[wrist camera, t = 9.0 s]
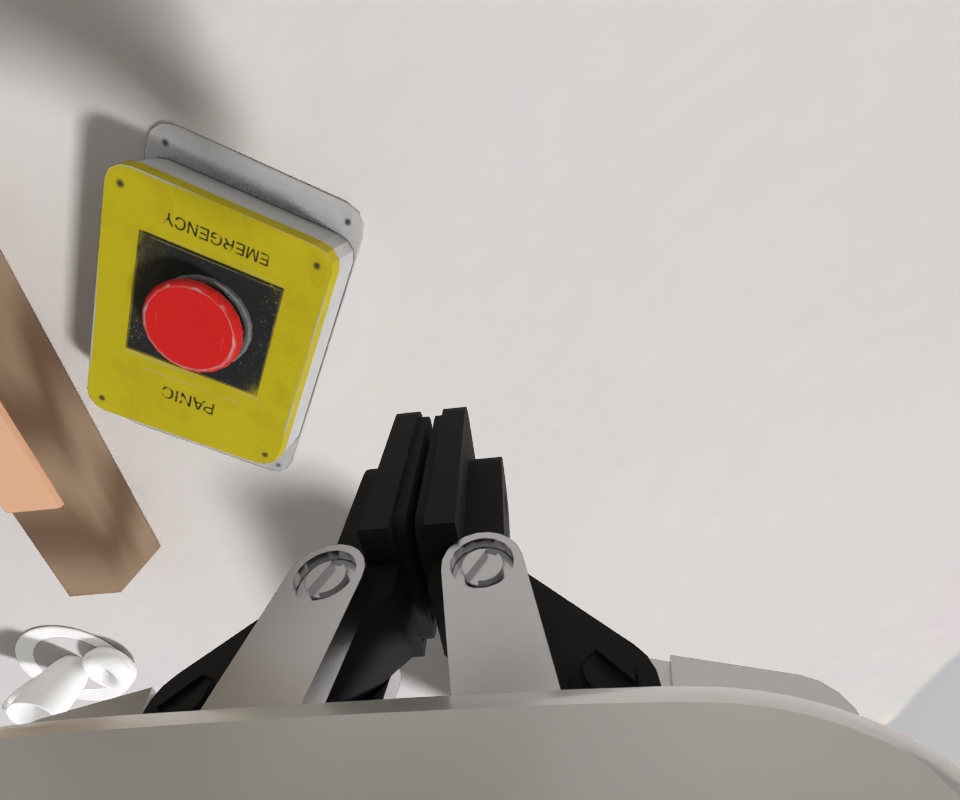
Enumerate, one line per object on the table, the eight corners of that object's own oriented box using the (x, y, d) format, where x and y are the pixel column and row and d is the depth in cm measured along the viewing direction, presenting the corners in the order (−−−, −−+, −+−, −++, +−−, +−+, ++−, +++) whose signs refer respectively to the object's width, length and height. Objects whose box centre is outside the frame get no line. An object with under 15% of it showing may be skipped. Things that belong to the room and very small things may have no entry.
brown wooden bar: (-124, 151, 20) (-250, 148, 17) (-59, 141, 20) (-173, 136, 16) (114, 550, 30) (65, 600, 26) (160, 546, 29) (116, 596, 26)
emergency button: (347, 222, 17) (258, 521, 23) (373, 211, 21) (291, 469, 27) (76, 101, 16) (57, 454, 22) (159, 114, 20) (123, 410, 26)
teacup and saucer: (147, 636, 34) (104, 694, 30) (148, 704, 37) (111, 763, 33) (14, 609, 33) (-46, 665, 29) (28, 681, 36) (-25, 739, 32)
